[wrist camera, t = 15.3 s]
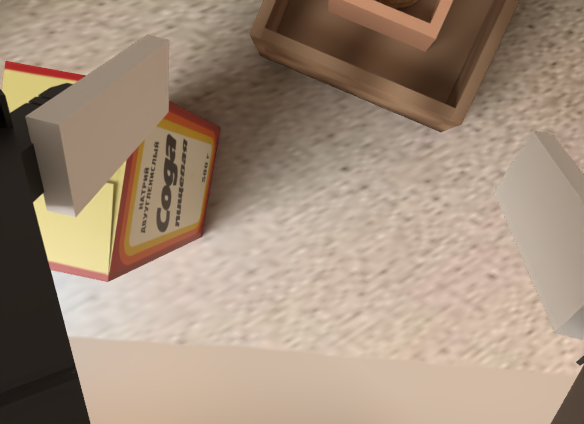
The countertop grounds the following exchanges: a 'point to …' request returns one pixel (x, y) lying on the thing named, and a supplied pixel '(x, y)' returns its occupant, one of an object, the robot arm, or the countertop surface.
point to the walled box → (389, 54)
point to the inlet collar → (393, 20)
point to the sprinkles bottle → (398, 3)
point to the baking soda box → (127, 191)
